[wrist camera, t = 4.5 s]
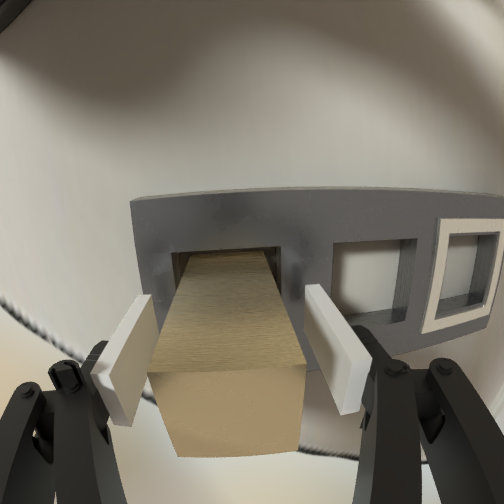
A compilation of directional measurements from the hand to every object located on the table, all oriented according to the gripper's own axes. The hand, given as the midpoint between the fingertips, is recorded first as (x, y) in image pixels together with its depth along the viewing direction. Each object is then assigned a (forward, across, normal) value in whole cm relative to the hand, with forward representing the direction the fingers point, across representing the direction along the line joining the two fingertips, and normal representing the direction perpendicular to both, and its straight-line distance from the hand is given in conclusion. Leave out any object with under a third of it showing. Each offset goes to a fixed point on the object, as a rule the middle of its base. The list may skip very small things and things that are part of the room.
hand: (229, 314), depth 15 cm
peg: (+4, 0, 0) cm, 4 cm away
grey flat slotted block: (+4, +9, 0) cm, 10 cm away
